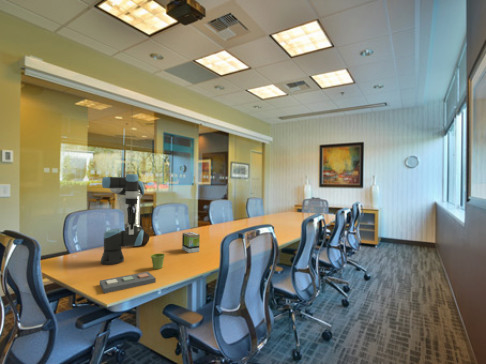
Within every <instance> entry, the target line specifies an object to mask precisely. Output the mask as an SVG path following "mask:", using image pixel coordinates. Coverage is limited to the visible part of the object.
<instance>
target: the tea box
mask: <svg viewBox="0 0 486 364" xmlns="http://www.w3.org/2000/svg"><path fill="white" fill-rule="evenodd" d="M181 236H182V242H181V243H182V244H181V247H182V248H181V250H183V251H185V252H186V253H188V254H191V253H198V252H200V241H201V240H200V238H201V237H200V233H197V232H194V231H188V232H187V231H185V232H182V235H181Z"/></svg>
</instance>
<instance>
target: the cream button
mask: <svg viewBox="0 0 486 364" xmlns="http://www.w3.org/2000/svg"><path fill="white" fill-rule="evenodd" d="M116 283H118V281H117V280H116V279H113V280H107V281H106V284H107V285H111V284H116Z"/></svg>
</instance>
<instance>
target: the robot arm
mask: <svg viewBox="0 0 486 364" xmlns="http://www.w3.org/2000/svg"><path fill="white" fill-rule="evenodd" d="M101 186H102V188H104V189H109V191H110V192H111V193H113V194H116V195H119V196H125V202H124V203H125V204H126V205H128V206H127V208H126V210H127V226H125V228H124V230H122V228H112V229H108V230H106V231H105V232H104V233H103V253H102V256H101V259H100V264H101V265H108V266H109V265H117V264H121V263H123V262H124V261H125V257H124V254H123V251H122V247H124V248H125V247H140V246H139V245H141V244H142V240H143V233H144V232H145V231H144V229H143V230H142V227H141V226H140V215H141V199H142V198H143V196H144V195H145V188H144V182H143V181H141V180H140V181H139V175H138V174H137V173H136V174H135V173H132V174H131V173H126V175H125V176H124V177H123V176H121V177H119V176H104V177H102V179H101Z"/></svg>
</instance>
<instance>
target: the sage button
mask: <svg viewBox="0 0 486 364" xmlns="http://www.w3.org/2000/svg"><path fill="white" fill-rule="evenodd" d="M122 280H123V281H124V282H126V281H131V280H134V278H133V277H132V276H128V277H123V278H122Z"/></svg>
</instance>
